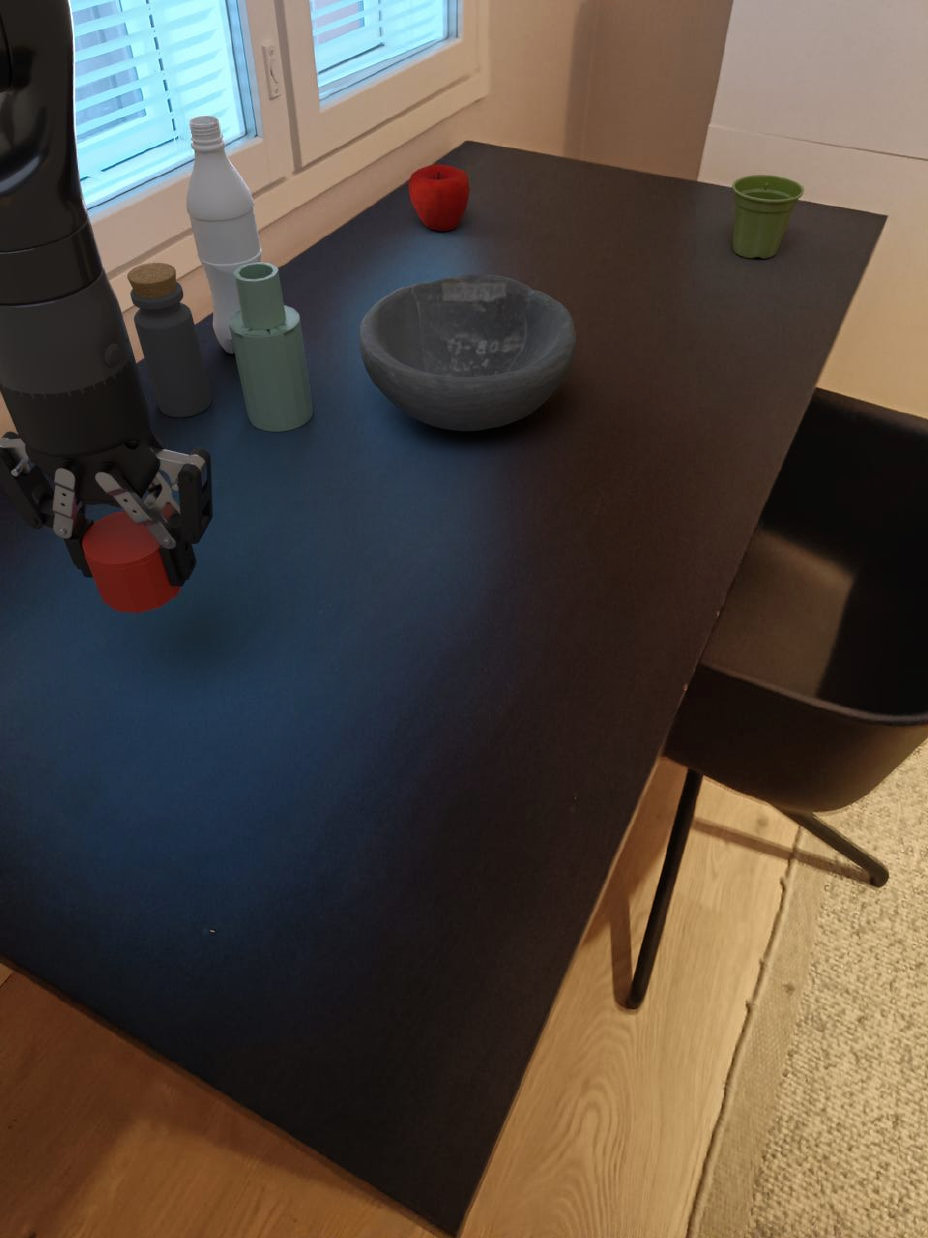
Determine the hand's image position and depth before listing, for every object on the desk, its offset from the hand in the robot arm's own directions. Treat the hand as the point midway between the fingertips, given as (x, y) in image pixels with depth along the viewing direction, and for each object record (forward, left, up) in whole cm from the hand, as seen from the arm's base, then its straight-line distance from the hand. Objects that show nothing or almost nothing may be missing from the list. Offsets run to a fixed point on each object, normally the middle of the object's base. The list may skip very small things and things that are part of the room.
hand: (138, 573), depth 62 cm
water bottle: (-36, +40, -12) cm, 55 cm away
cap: (0, 0, -1) cm, 1 cm away
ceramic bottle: (-22, +32, -12) cm, 41 cm away
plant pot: (+1, +102, -12) cm, 103 cm away
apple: (-40, +82, -12) cm, 92 cm away
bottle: (-32, +27, -12) cm, 44 cm away
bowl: (-7, +46, -12) cm, 48 cm away
